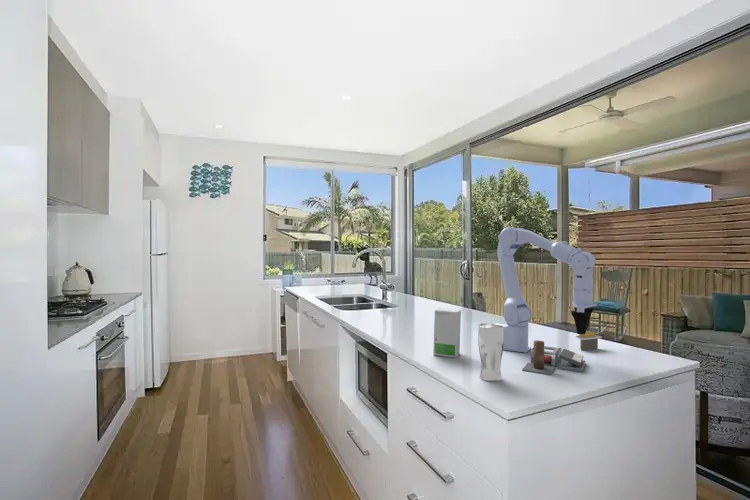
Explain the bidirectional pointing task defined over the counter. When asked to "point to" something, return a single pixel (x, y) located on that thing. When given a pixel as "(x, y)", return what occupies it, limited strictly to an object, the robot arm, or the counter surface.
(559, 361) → the silver metal box
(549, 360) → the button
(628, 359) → the counter surface
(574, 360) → the rocker
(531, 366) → the mat
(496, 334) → the beer glass
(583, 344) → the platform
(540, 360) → the brown cylinder
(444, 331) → the skincare box
